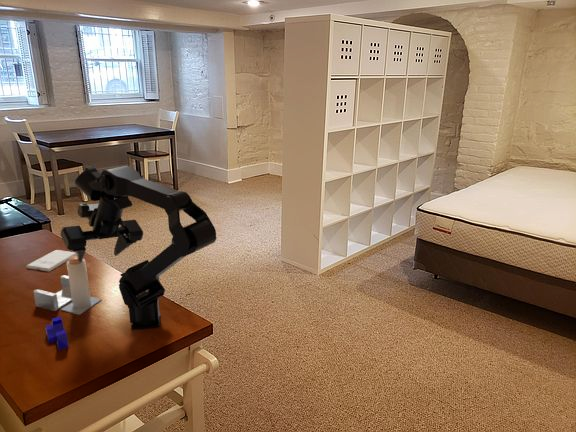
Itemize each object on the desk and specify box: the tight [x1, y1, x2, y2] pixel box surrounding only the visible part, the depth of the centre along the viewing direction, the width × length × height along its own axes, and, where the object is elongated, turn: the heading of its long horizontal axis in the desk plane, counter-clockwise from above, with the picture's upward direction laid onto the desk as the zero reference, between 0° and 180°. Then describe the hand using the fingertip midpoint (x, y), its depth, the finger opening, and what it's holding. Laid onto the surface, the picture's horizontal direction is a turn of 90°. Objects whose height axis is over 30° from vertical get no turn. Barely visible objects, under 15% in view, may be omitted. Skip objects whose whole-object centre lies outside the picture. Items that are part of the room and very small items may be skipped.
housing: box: [33, 274, 72, 312], centre depth 116 cm, size 6×10×4 cm, turn 161°
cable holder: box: [45, 316, 69, 351], centre depth 99 cm, size 8×4×4 cm, turn 34°
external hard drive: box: [26, 249, 77, 272], centre depth 139 cm, size 2×8×12 cm
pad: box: [60, 296, 102, 316], centre depth 115 cm, size 6×8×1 cm
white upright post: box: [66, 256, 91, 309], centre depth 112 cm, size 4×4×14 cm
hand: (97, 257), depth 112 cm, fingers open, 9 cm apart
